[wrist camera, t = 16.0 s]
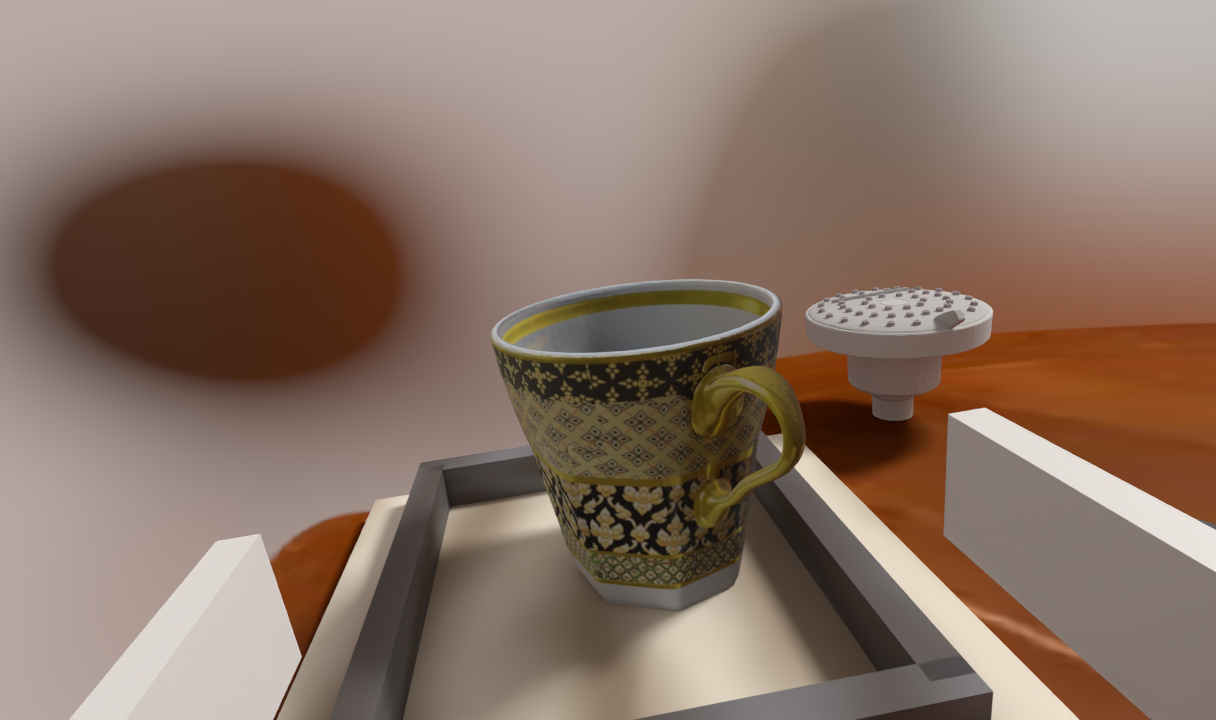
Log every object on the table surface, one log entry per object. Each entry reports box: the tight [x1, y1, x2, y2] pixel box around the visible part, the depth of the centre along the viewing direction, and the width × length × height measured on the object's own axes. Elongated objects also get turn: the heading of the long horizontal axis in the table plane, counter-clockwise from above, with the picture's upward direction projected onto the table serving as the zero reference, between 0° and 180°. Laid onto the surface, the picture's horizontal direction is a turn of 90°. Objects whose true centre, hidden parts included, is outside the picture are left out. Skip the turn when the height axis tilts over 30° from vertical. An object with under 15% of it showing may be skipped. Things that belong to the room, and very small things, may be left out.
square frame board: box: [277, 430, 1079, 720], centre depth 24 cm, size 22×20×3 cm
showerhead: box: [805, 286, 993, 421], centre depth 36 cm, size 9×7×10 cm
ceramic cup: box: [491, 279, 806, 611], centre depth 23 cm, size 13×10×10 cm
